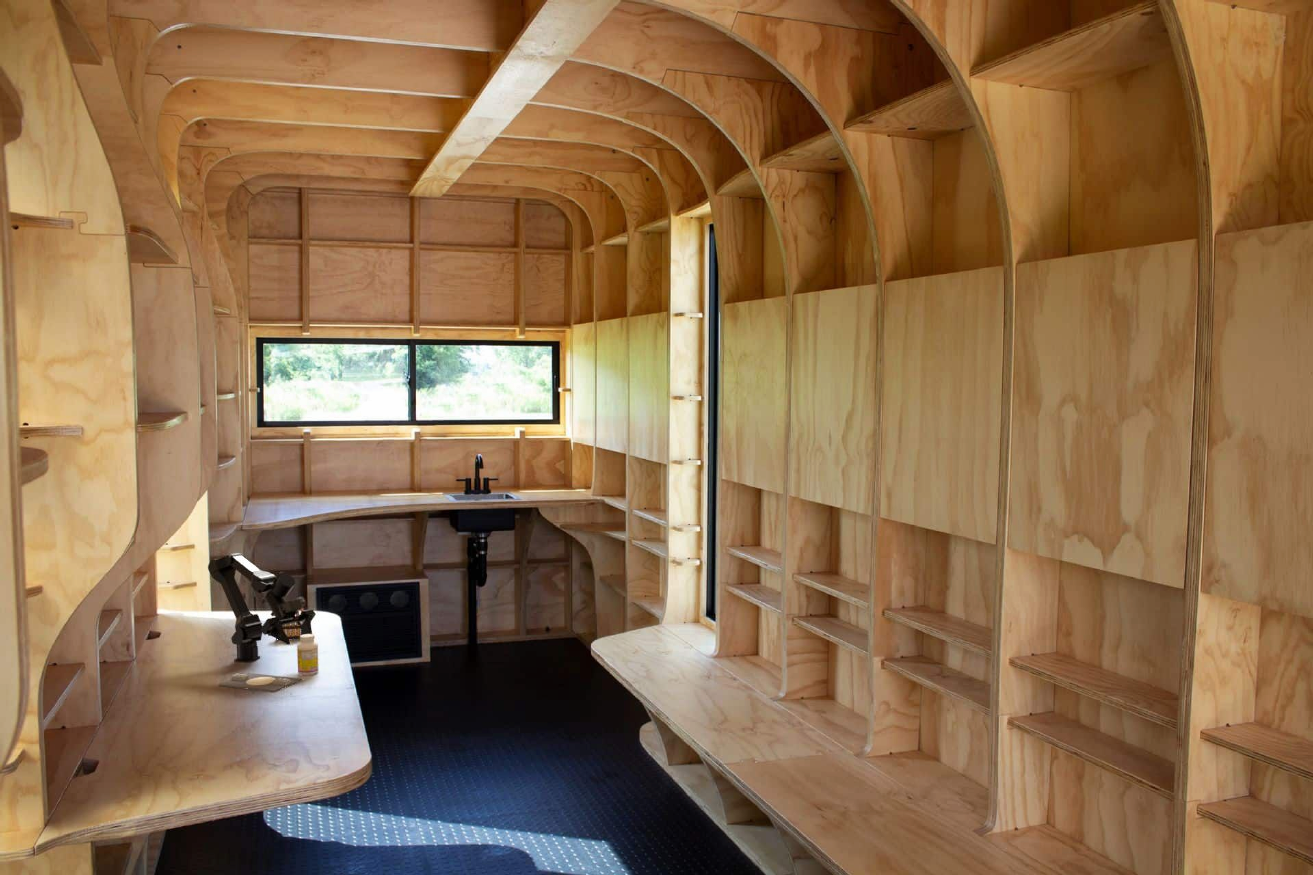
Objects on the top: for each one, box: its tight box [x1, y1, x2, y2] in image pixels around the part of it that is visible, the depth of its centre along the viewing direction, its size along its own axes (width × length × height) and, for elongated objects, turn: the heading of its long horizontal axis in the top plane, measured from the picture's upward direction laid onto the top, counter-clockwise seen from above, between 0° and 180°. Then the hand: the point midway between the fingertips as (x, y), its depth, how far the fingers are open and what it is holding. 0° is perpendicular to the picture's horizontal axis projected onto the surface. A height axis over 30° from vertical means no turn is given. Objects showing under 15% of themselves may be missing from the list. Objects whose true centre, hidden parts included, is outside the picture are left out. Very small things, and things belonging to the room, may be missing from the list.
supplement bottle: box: [296, 633, 319, 676], centre depth 372 cm, size 7×7×13 cm
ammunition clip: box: [275, 607, 305, 641], centre depth 420 cm, size 11×2×12 cm, turn 105°
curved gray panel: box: [218, 672, 304, 693], centre depth 361 cm, size 22×14×2 cm, turn 70°
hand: (300, 641), depth 374 cm, fingers open, 9 cm apart
